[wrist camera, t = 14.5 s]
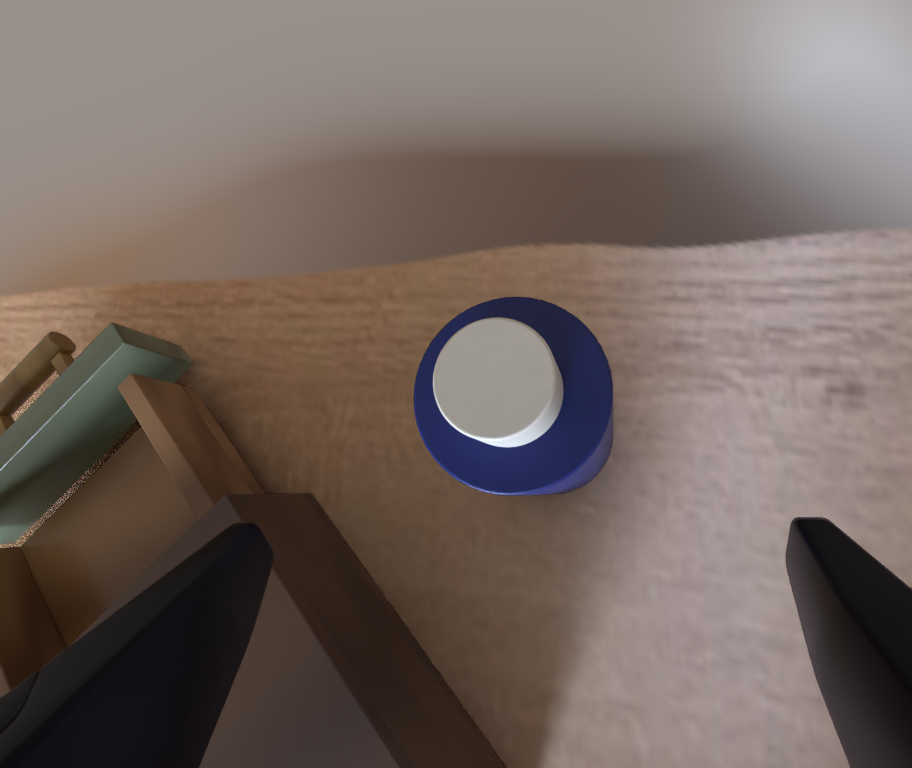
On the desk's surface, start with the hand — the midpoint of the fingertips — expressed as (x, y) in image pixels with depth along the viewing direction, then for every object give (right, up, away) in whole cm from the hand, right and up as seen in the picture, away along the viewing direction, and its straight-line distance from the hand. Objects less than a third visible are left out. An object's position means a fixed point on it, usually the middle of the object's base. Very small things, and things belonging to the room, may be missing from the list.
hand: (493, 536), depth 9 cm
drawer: (-15, -3, +14) cm, 21 cm away
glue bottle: (+3, +1, +11) cm, 11 cm away
